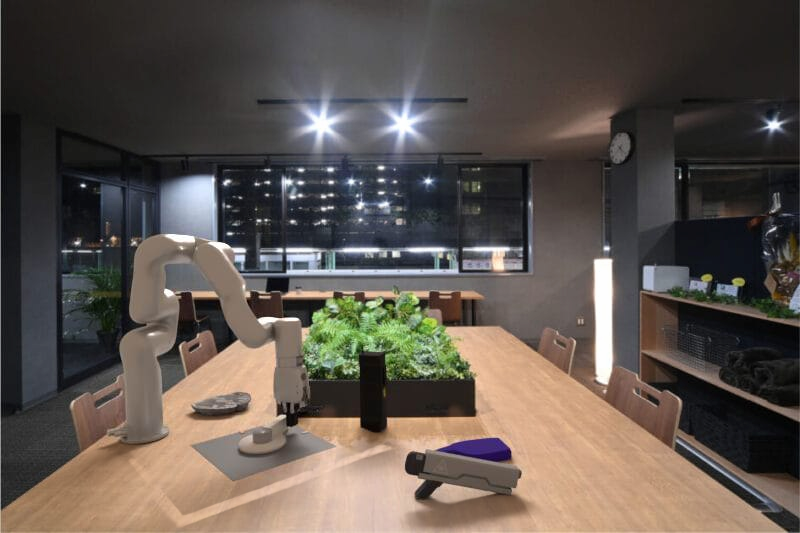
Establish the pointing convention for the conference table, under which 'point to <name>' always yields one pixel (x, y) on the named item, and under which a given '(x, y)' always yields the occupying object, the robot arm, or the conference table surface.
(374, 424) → the black tall block
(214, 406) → the brain slice
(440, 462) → the gun
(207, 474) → the conference table surface
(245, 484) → the conference table surface
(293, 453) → the dial plate
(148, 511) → the conference table surface
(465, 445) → the purple faceted wedge
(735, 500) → the conference table surface
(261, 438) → the dial rotor
